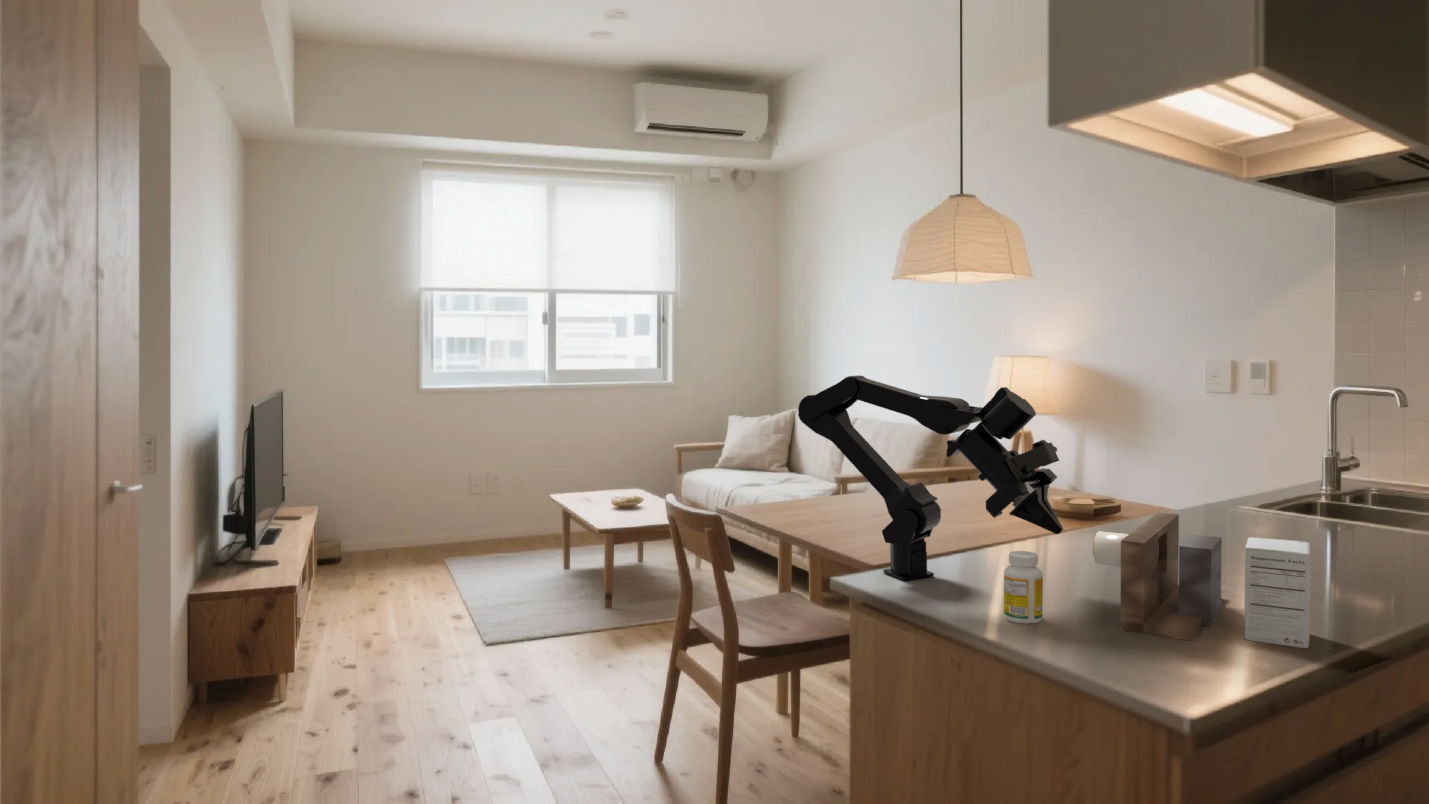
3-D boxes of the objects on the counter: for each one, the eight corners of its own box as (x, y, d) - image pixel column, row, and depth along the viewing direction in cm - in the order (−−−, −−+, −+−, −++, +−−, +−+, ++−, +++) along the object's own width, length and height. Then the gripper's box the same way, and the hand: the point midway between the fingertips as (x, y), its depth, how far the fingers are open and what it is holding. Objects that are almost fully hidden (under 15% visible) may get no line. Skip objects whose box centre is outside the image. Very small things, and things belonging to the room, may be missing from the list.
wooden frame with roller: (1117, 628, 126) (1117, 540, 125) (1154, 589, 145) (1155, 512, 144) (1201, 642, 120) (1201, 549, 119) (1228, 599, 139) (1229, 518, 138)
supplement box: (1246, 625, 126) (1247, 535, 126) (1310, 633, 122) (1311, 541, 121) (1242, 640, 120) (1243, 546, 119) (1309, 649, 116) (1310, 552, 115)
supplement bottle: (1013, 625, 129) (1012, 559, 128) (997, 614, 134) (997, 550, 133) (1049, 623, 129) (1049, 557, 129) (1032, 612, 135) (1032, 549, 134)
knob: (1091, 566, 137) (1091, 534, 136) (1100, 560, 141) (1100, 528, 140) (1151, 574, 132) (1151, 540, 131) (1158, 566, 136) (1158, 534, 135)
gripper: (1005, 430, 137) (1081, 508, 130) (1043, 420, 151) (1114, 490, 145) (955, 478, 142) (1027, 556, 136) (998, 464, 157) (1064, 533, 151)
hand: (1060, 532), depth 142 cm, fingers closed
